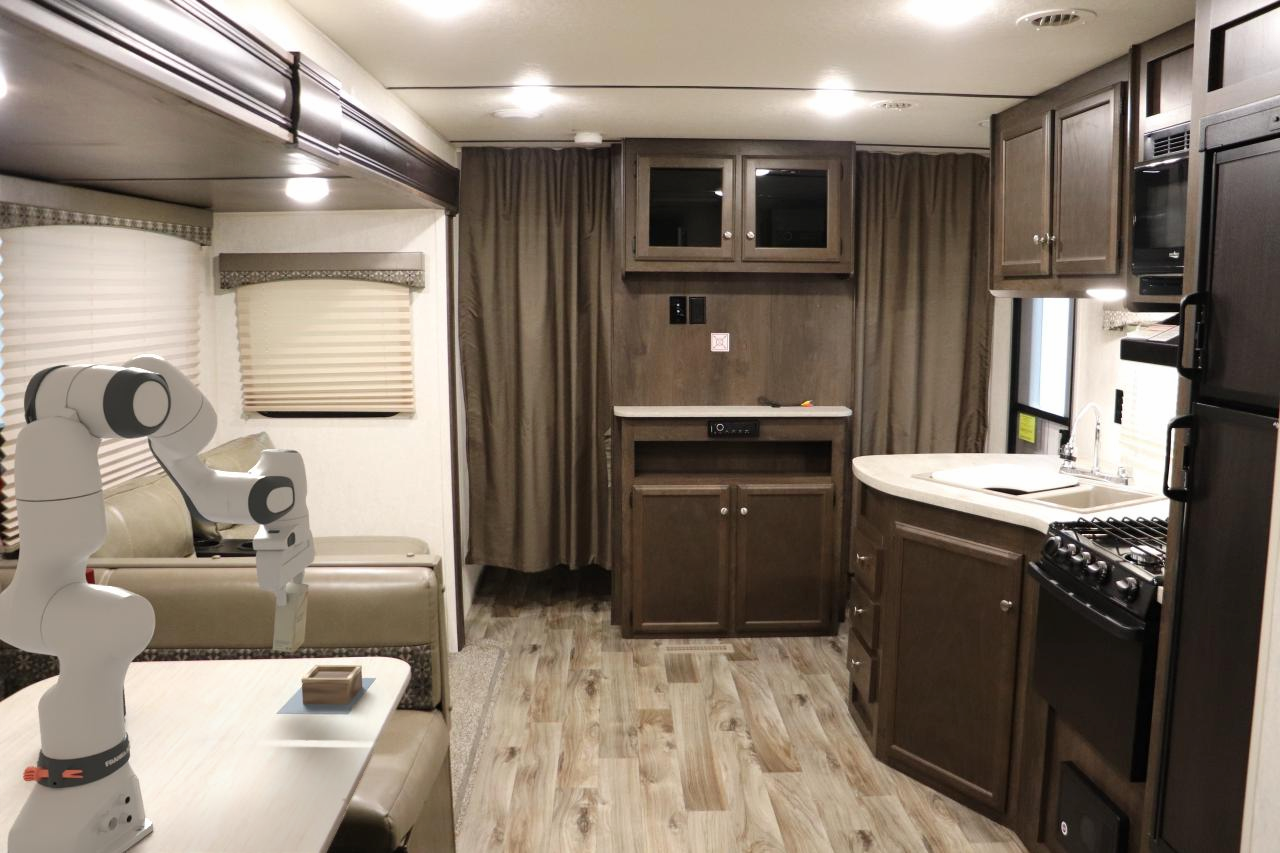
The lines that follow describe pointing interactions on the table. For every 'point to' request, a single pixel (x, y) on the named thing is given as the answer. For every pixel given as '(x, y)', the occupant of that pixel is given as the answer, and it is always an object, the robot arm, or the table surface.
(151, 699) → the table surface
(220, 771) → the table surface
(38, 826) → the robot arm
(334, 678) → the walnut tray
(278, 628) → the skincare box
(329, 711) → the blue board
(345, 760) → the table surface
